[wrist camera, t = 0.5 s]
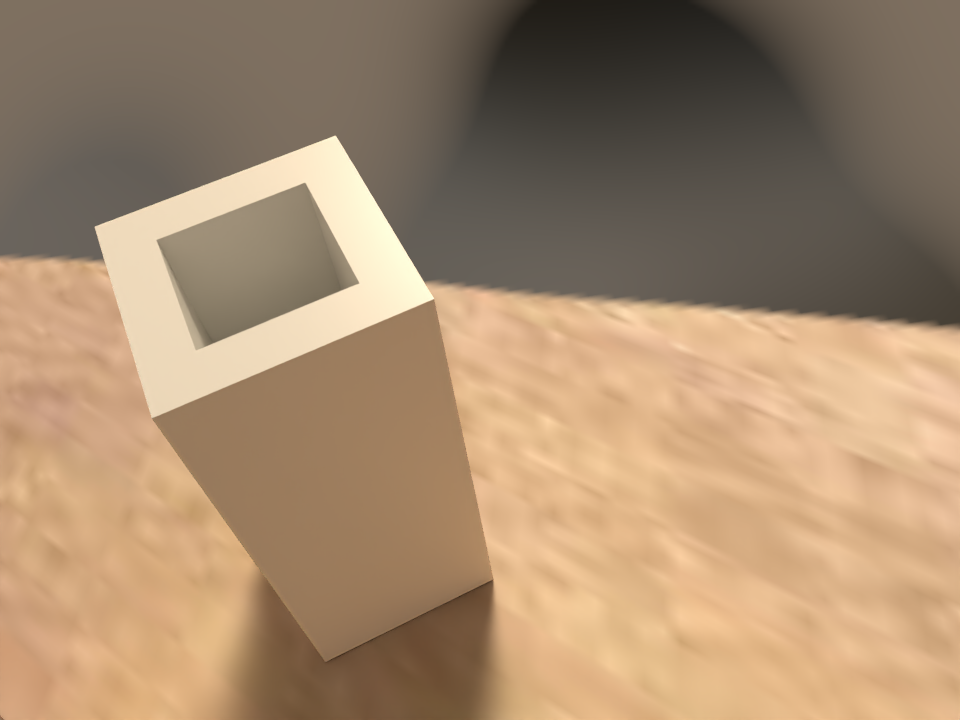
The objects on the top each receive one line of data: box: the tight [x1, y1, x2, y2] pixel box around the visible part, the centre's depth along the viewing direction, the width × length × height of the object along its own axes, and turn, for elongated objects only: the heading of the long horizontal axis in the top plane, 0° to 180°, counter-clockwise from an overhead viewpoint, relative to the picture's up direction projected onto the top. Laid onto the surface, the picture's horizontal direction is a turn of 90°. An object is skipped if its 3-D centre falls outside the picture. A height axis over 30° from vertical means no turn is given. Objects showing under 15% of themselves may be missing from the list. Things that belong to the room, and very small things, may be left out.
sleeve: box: [95, 136, 493, 662], centre depth 21 cm, size 5×5×12 cm
